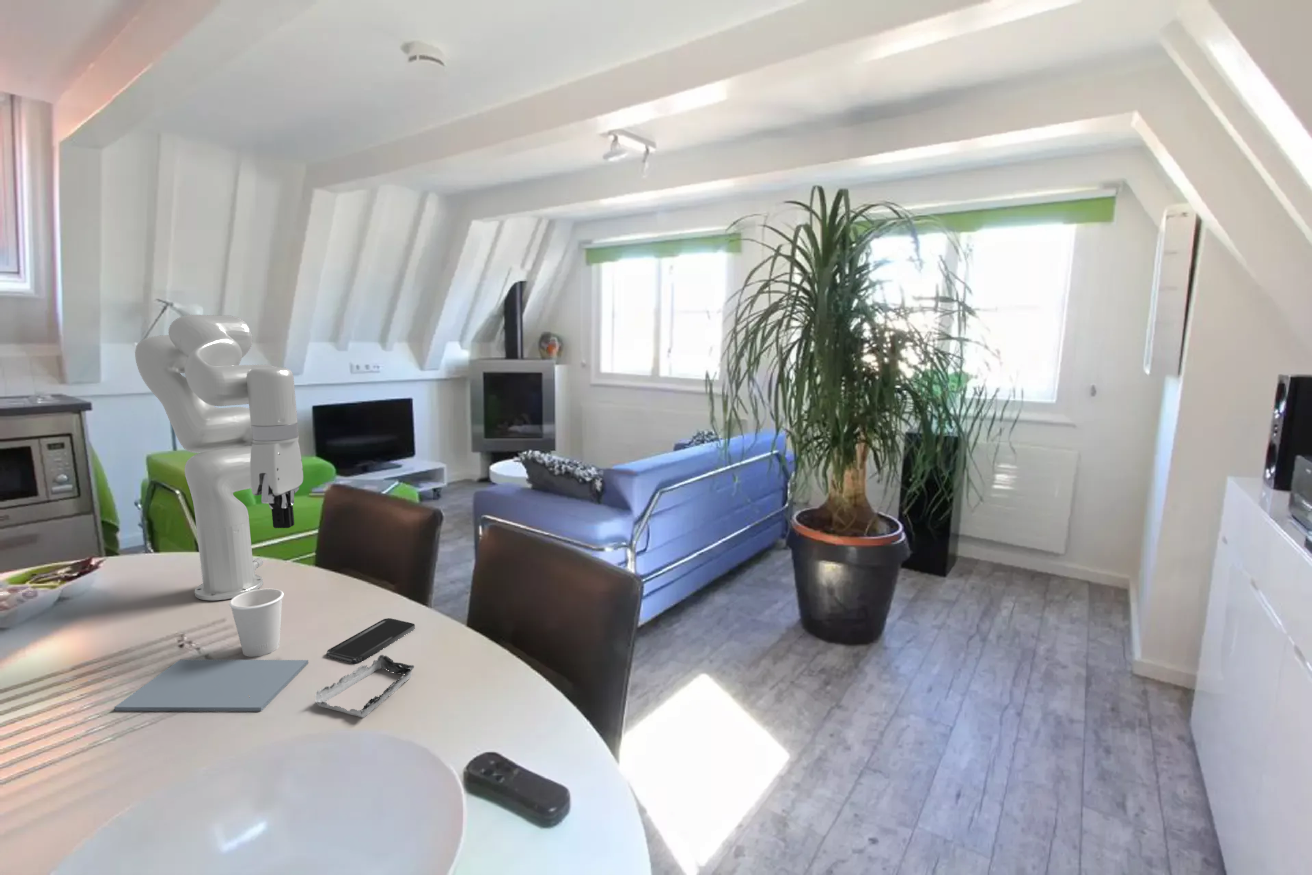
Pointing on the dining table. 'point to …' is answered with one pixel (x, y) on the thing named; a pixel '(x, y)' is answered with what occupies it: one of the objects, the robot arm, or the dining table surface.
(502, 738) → the dining table surface
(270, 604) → the dixie cup
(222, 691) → the slate mat
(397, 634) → the phone
